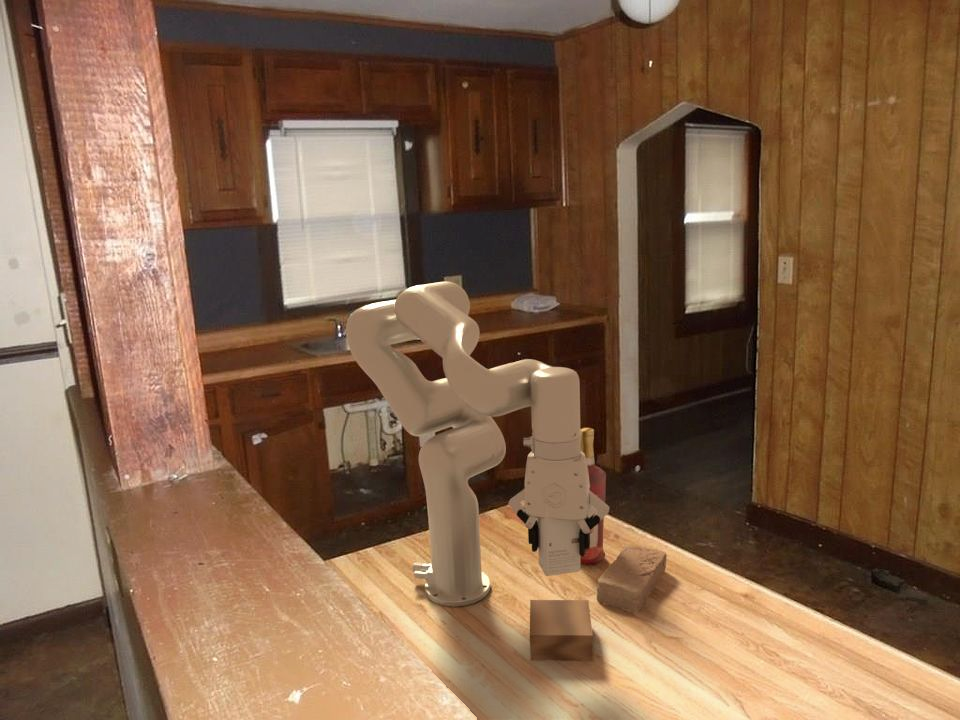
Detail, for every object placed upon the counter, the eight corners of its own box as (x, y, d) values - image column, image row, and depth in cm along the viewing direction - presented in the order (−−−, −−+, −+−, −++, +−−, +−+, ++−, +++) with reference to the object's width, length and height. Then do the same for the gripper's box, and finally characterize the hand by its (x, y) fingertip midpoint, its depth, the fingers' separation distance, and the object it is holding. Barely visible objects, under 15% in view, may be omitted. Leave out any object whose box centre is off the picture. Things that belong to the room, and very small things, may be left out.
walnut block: (530, 662, 113) (529, 634, 112) (531, 625, 122) (530, 599, 121) (593, 663, 112) (592, 635, 111) (588, 625, 122) (588, 600, 120)
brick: (638, 615, 124) (638, 591, 123) (594, 602, 128) (594, 579, 127) (667, 572, 138) (667, 551, 137) (626, 562, 142) (626, 541, 141)
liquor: (613, 558, 143) (612, 428, 137) (593, 572, 138) (592, 438, 132) (583, 547, 148) (581, 421, 142) (563, 561, 143) (560, 431, 136)
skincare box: (546, 577, 111) (543, 507, 108) (537, 564, 115) (535, 495, 113) (582, 571, 112) (581, 501, 110) (572, 558, 117) (571, 490, 114)
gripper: (496, 451, 108) (501, 556, 112) (610, 457, 103) (611, 566, 107) (508, 436, 115) (512, 535, 119) (615, 441, 110) (615, 543, 114)
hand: (559, 549), depth 113 cm, fingers closed on skincare box, 7 cm apart
